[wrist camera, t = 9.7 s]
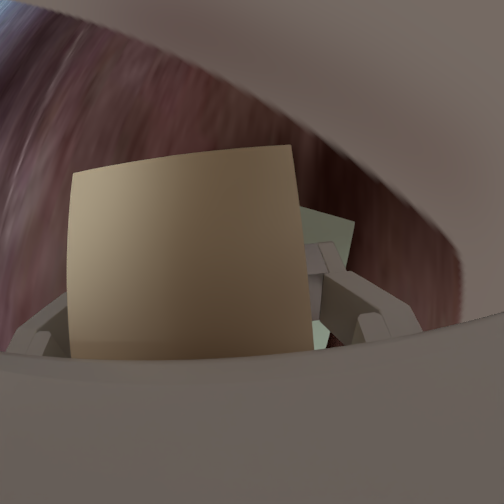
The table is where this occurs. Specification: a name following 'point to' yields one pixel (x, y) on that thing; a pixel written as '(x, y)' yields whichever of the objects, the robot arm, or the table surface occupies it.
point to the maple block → (188, 258)
